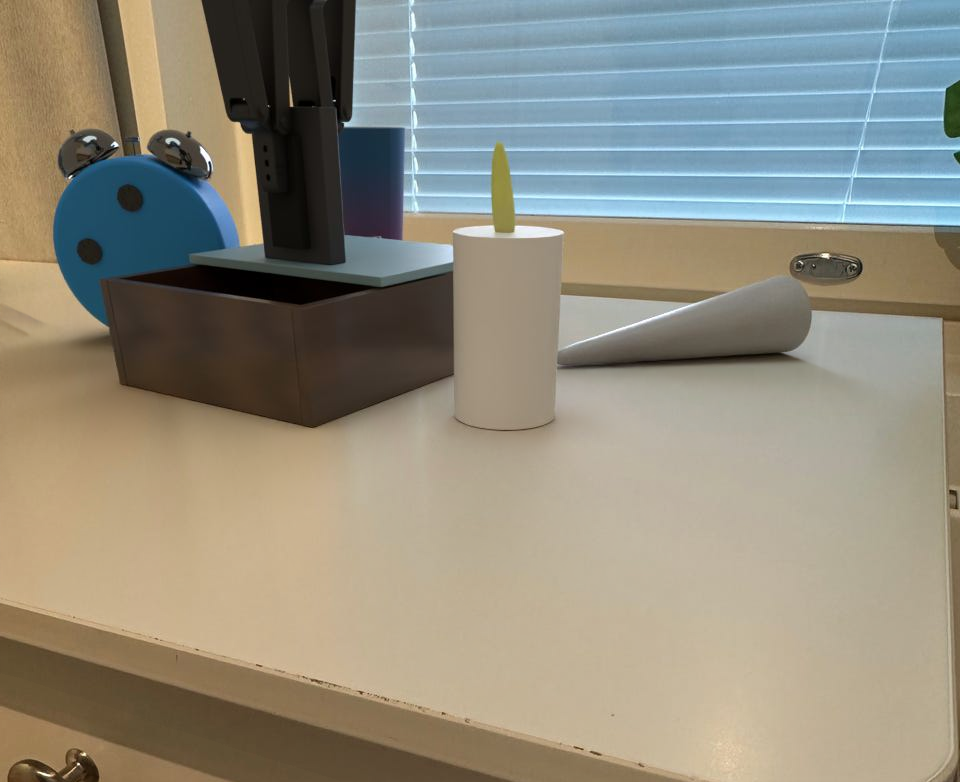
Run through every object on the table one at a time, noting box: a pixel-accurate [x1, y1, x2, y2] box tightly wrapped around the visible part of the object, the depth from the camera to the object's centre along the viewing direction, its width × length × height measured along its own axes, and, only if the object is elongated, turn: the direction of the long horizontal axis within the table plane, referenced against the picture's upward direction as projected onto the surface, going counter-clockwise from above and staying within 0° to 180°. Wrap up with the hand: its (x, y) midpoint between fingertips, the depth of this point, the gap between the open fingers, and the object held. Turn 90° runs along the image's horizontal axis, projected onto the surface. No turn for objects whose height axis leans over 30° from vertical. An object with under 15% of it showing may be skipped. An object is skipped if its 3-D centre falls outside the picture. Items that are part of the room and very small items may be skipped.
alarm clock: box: [52, 127, 241, 328], centre depth 70 cm, size 13×6×15 cm, turn 92°
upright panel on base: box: [189, 105, 453, 287], centre depth 62 cm, size 17×15×10 cm
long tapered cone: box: [557, 274, 813, 367], centre depth 66 cm, size 6×6×19 cm
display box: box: [99, 236, 454, 428], centre depth 66 cm, size 18×29×7 cm, turn 148°
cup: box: [338, 126, 406, 241], centre depth 84 cm, size 7×7×15 cm
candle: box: [452, 140, 565, 431], centre depth 52 cm, size 6×6×15 cm
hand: (303, 245), depth 60 cm, fingers closed on upright panel on base, 2 cm apart
